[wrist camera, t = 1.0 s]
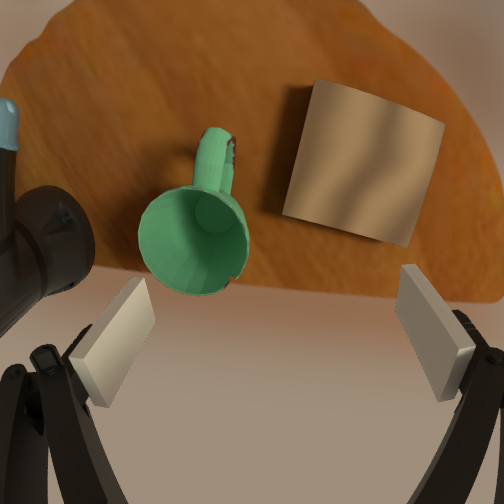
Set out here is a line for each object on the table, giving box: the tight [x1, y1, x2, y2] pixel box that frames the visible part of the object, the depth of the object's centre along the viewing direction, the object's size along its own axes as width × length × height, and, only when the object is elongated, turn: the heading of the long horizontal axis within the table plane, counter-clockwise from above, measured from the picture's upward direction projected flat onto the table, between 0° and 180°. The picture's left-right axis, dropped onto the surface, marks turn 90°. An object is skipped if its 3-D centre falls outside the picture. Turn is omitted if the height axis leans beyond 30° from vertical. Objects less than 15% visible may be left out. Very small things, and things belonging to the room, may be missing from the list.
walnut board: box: [282, 78, 445, 248], centre depth 30 cm, size 14×14×3 cm
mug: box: [138, 128, 250, 296], centre depth 30 cm, size 15×10×10 cm
